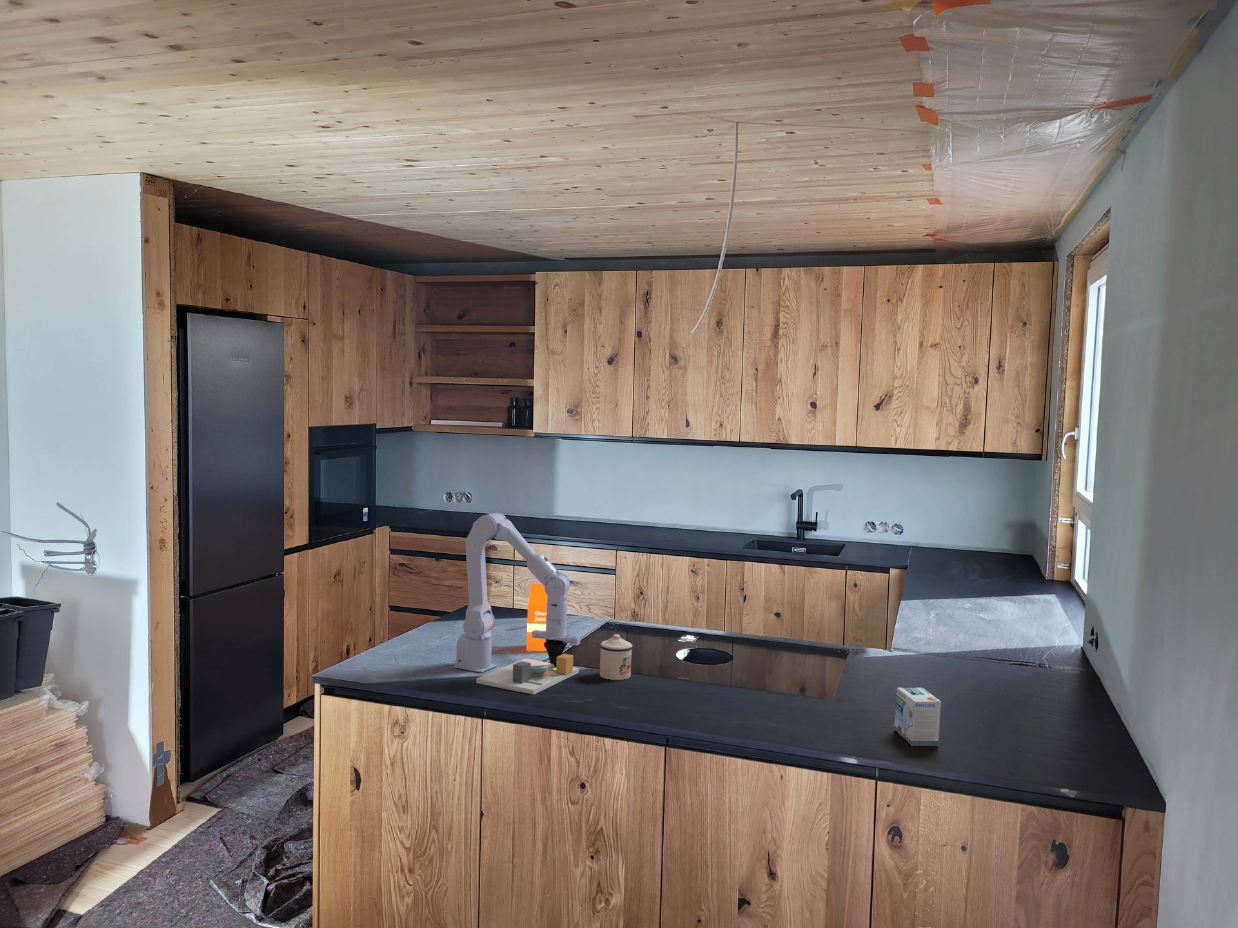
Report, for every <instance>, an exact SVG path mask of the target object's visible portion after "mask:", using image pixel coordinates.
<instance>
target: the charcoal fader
mask: <svg viewBox="0 0 1238 928" xmlns="http://www.w3.org/2000/svg"><path fill="white" fill-rule="evenodd" d="M512 664H513V663H512ZM530 671H531V663H528V662H523V661H521V662H518V663H516V664H513V681H515V682H520V683H523V682H525V681H527V680H529V679H530Z"/></svg>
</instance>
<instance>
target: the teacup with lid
mask: <svg viewBox="0 0 1238 928" xmlns="http://www.w3.org/2000/svg"><path fill="white" fill-rule="evenodd" d="M599 648H600V655H599V656H600V657H599V658H600V659H599V663H600V664H599V676H600V677H601V678H602V679H604V678H605V680H608V679H610V680H609V681H623V680H624V679H625V680H628V679H629V678H631V674H632V673H631V672H632V650H633V644H632V643H631V642H629V641H627V640H625V639H623V638H621V635H620V634H618V633H617V634H616V633H615V634H613V635H612V637H611V638H609V639H606V640H603V641H601V643H600V644H599Z"/></svg>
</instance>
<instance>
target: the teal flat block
mask: <svg viewBox="0 0 1238 928" xmlns="http://www.w3.org/2000/svg"><path fill="white" fill-rule="evenodd" d="M554 668H555V667H554V665H553V664H548V665H538V666H531V671H530V673H538V672H547V671H550V670H552V669H554Z"/></svg>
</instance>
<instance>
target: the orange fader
mask: <svg viewBox="0 0 1238 928" xmlns="http://www.w3.org/2000/svg"><path fill="white" fill-rule="evenodd" d="M573 667H574V655H573V654H567V653H562V655H560V656H558V657H557V664H556V673H560V674H568V673H570V672H572V671H573Z"/></svg>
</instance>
